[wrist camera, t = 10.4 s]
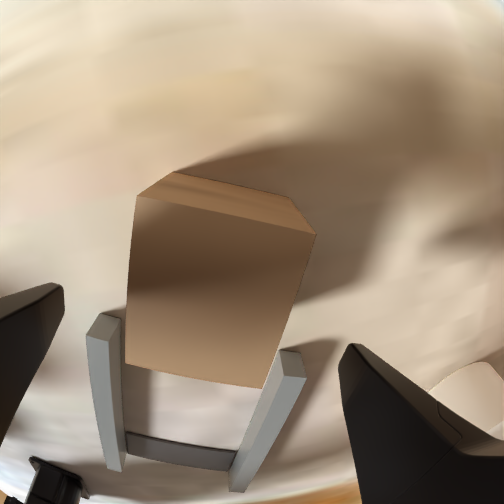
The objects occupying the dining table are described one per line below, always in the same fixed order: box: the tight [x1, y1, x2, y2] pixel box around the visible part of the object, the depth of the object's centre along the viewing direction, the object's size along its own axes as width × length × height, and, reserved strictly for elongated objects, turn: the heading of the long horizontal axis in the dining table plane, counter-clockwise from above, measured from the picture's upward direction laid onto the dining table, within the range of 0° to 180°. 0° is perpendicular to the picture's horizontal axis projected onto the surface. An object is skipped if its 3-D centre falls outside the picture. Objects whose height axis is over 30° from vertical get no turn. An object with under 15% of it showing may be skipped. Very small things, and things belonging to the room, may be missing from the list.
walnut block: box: [125, 172, 316, 389], centre depth 12 cm, size 6×5×5 cm
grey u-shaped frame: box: [86, 314, 307, 493], centre depth 17 cm, size 14×11×2 cm
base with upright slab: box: [428, 362, 504, 440], centre depth 14 cm, size 9×9×12 cm
